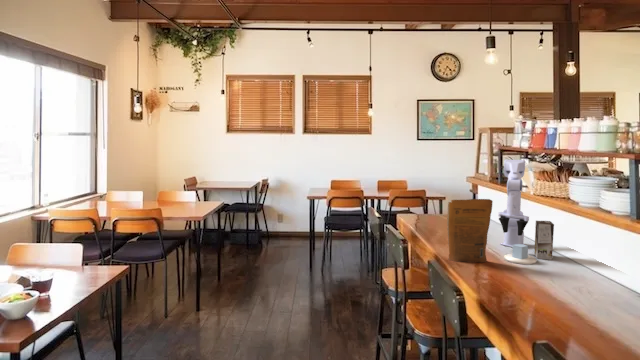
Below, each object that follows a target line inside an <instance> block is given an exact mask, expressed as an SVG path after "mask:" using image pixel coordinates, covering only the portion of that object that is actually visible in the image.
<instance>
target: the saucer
mask: <svg viewBox="0 0 640 360" xmlns="http://www.w3.org/2000/svg"><path fill="white" fill-rule="evenodd" d="M503 259H504V261H506V262H507V263H511V264H512V263H513V264H518V265H535V264H537V258H536V256H535V257H534V256H532V255H529V254H528V258H526V259H518V258H514V257H512V253H507V254H504V256H503Z"/></svg>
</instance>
